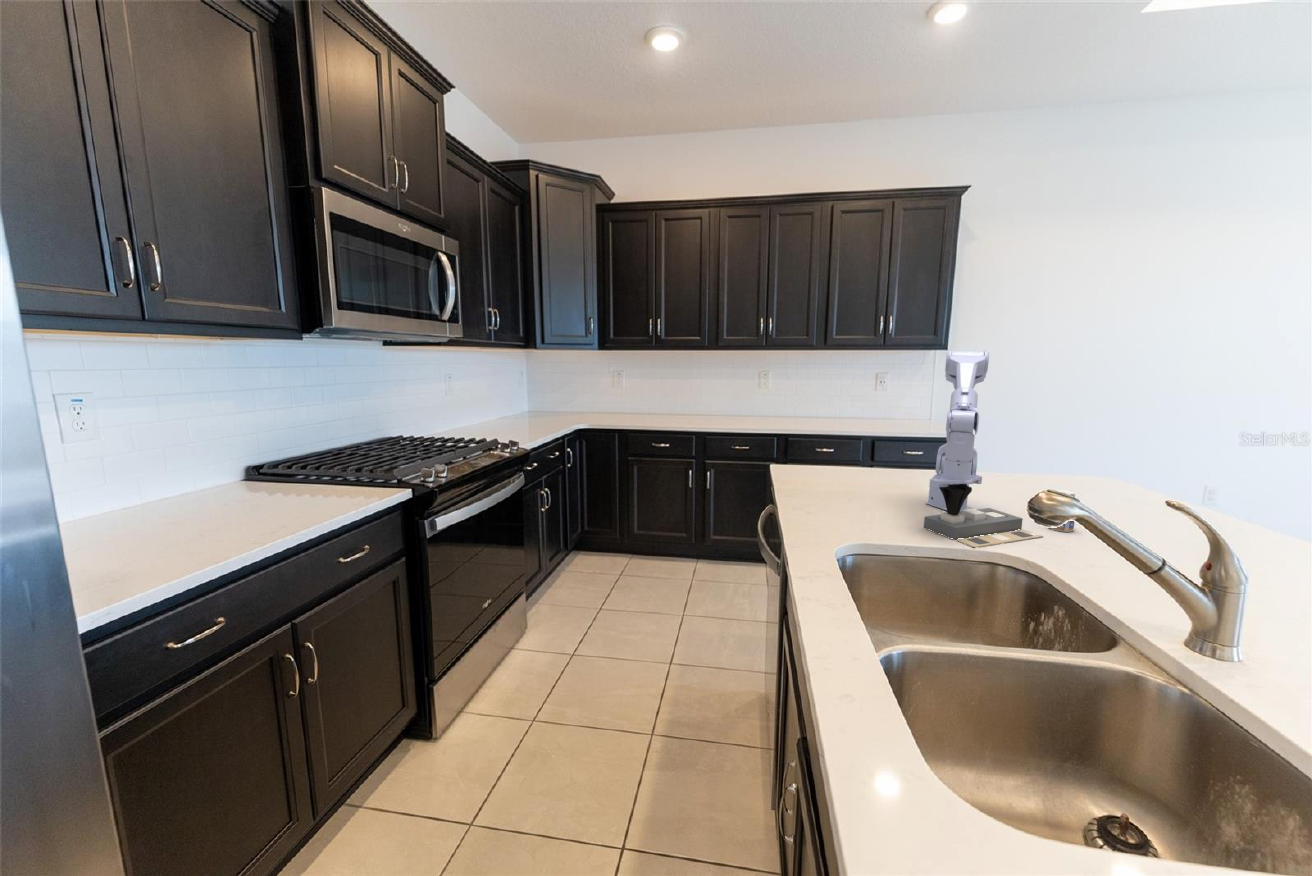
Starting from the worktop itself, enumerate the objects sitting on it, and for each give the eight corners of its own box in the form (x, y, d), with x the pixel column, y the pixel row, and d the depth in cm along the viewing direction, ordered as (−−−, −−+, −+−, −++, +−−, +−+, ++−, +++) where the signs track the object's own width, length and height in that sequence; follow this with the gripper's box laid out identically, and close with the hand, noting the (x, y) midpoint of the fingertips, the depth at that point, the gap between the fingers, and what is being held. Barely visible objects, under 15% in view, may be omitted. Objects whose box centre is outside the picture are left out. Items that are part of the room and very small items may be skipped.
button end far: (981, 524, 135) (982, 513, 134) (991, 522, 136) (992, 511, 135) (994, 528, 131) (995, 517, 131) (1004, 527, 132) (1005, 515, 132)
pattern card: (956, 540, 123) (956, 539, 123) (1023, 530, 130) (1023, 529, 130) (974, 548, 118) (974, 546, 118) (1043, 537, 126) (1043, 535, 126)
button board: (923, 527, 132) (924, 516, 131) (988, 518, 139) (989, 508, 138) (954, 540, 124) (955, 527, 123) (1021, 529, 131) (1022, 518, 130)
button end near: (939, 524, 130) (940, 512, 129) (950, 523, 131) (952, 511, 130) (952, 529, 126) (953, 517, 126) (963, 527, 128) (964, 515, 127)
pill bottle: (1064, 525, 134) (1069, 488, 132) (1078, 533, 129) (1084, 494, 127) (1041, 524, 134) (1046, 488, 133) (1055, 532, 129) (1060, 494, 127)
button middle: (961, 521, 132) (962, 510, 132) (971, 520, 133) (973, 508, 133) (973, 526, 129) (975, 514, 128) (984, 524, 130) (986, 513, 129)
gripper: (949, 465, 120) (943, 522, 122) (995, 461, 125) (989, 516, 127) (924, 459, 126) (919, 513, 129) (969, 455, 131) (964, 507, 133)
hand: (952, 514), depth 128 cm, fingers closed
